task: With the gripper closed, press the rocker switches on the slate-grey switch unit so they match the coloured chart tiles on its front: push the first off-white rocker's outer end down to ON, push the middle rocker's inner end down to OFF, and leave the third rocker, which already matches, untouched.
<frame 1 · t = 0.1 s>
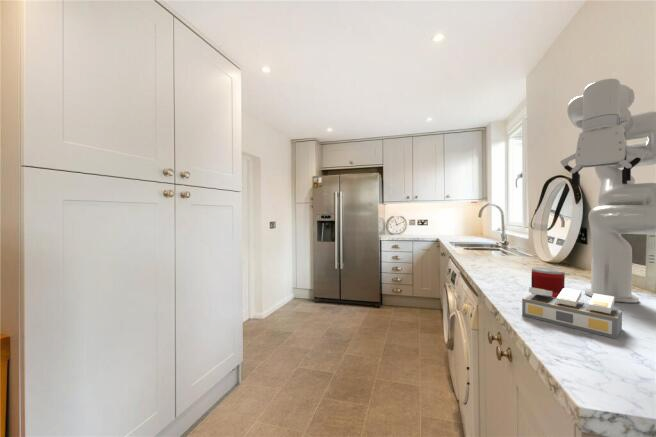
hand: (599, 185, 76), 37 cm above the counter, tool pointing down, fingers open, 9 cm apart
canned food: (547, 305, 84), on the counter
rocker 2: (569, 296, 70), point 7 cm above the counter, hinge at 12.0°
rocker 1: (540, 291, 74), point 7 cm above the counter, hinge at -12.0°
switch unit: (568, 321, 70), on the counter
rocker 3: (601, 302, 65), point 7 cm above the counter, hinge at 12.0°
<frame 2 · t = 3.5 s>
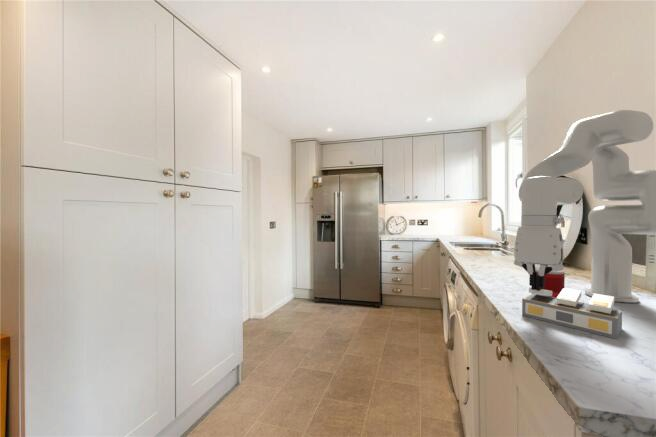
hand: (536, 289, 72), 8 cm above the counter, tool pointing down, fingers closed
rocker 1: (540, 291, 74), point 7 cm above the counter, hinge at -11.1°, touching gripper
everything else where it was.
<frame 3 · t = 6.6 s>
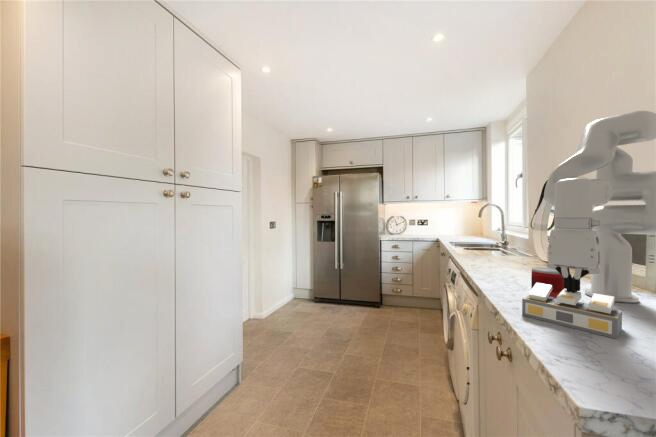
hand: (572, 292, 72), 7 cm above the counter, tool pointing down, fingers closed
rocker 2: (569, 296, 70), point 7 cm above the counter, hinge at 6.1°, touching gripper
rocker 1: (540, 291, 74), point 7 cm above the counter, hinge at 17.9°, touching switch unit
everything else where it was.
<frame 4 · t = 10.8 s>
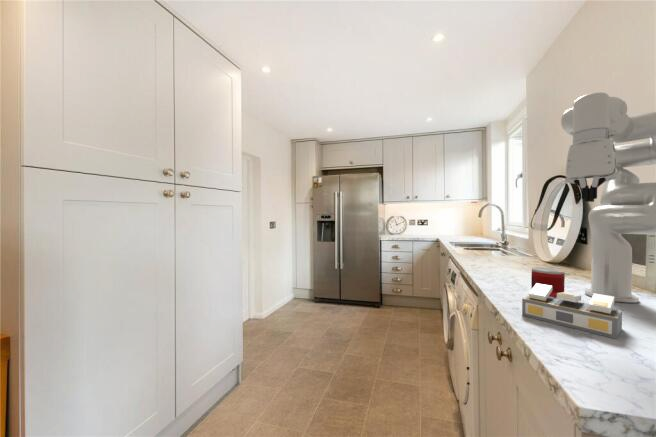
hand: (589, 201, 77), 32 cm above the counter, tool pointing down, fingers closed
rocker 2: (569, 296, 70), point 7 cm above the counter, hinge at -7.3°
rocker 1: (540, 291, 74), point 7 cm above the counter, hinge at 14.5°
everything else where it was.
at the end: rocker 1 at +14° (first picture: -12°); rocker 2 at -7° (first picture: +12°); rocker 3 at +12° (first picture: +12°) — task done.
